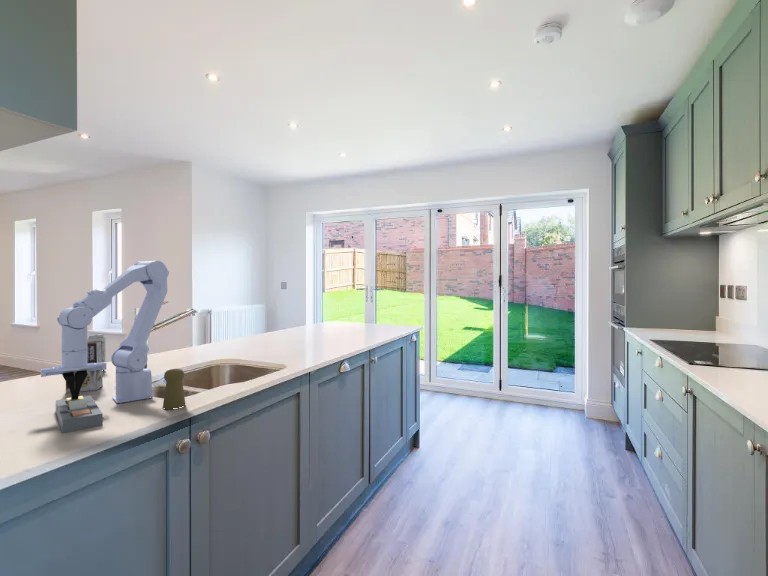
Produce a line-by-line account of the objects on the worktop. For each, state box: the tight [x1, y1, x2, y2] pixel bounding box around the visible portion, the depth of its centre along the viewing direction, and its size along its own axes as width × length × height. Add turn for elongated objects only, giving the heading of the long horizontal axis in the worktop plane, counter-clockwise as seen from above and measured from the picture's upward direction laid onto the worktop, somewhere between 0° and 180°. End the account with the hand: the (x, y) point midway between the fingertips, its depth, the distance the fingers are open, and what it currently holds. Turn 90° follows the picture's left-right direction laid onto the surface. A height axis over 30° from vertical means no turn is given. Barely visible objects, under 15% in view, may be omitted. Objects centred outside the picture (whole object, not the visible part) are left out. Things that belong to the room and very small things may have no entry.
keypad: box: [55, 394, 104, 434], centre depth 108 cm, size 8×22×3 cm, turn 43°
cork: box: [162, 368, 186, 409], centre depth 118 cm, size 6×6×11 cm
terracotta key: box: [71, 409, 91, 417], centre depth 103 cm, size 4×4×3 cm
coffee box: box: [65, 340, 104, 393], centre depth 137 cm, size 9×6×16 cm
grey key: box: [69, 399, 87, 410], centre depth 108 cm, size 4×4×3 cm
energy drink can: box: [87, 333, 106, 362], centre depth 164 cm, size 6×6×15 cm
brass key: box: [65, 395, 84, 404], centre depth 113 cm, size 4×4×3 cm
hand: (74, 398), depth 113 cm, fingers closed, pressing on brass key
